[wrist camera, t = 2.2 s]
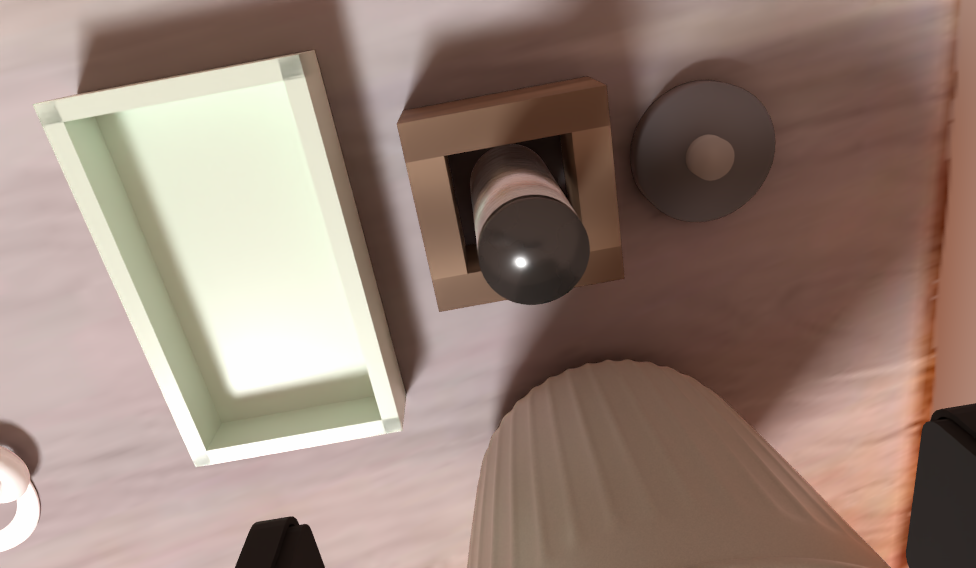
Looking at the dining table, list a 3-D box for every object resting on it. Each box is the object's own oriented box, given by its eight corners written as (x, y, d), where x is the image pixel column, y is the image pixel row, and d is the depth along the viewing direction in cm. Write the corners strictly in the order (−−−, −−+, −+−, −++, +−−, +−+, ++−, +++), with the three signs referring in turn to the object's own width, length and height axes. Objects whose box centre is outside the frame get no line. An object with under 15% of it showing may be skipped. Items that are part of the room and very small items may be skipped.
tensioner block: (402, 110, 27) (396, 124, 24) (762, 43, 27) (805, 48, 24) (440, 280, 30) (439, 311, 27) (762, 221, 30) (799, 247, 27)
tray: (76, 94, 26) (32, 104, 23) (314, 49, 26) (298, 54, 23) (216, 429, 33) (195, 467, 30) (406, 395, 33) (402, 430, 30)
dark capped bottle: (463, 151, 28) (469, 210, 20) (543, 136, 28) (583, 189, 20) (477, 228, 29) (488, 313, 21) (554, 214, 29) (595, 294, 21)
